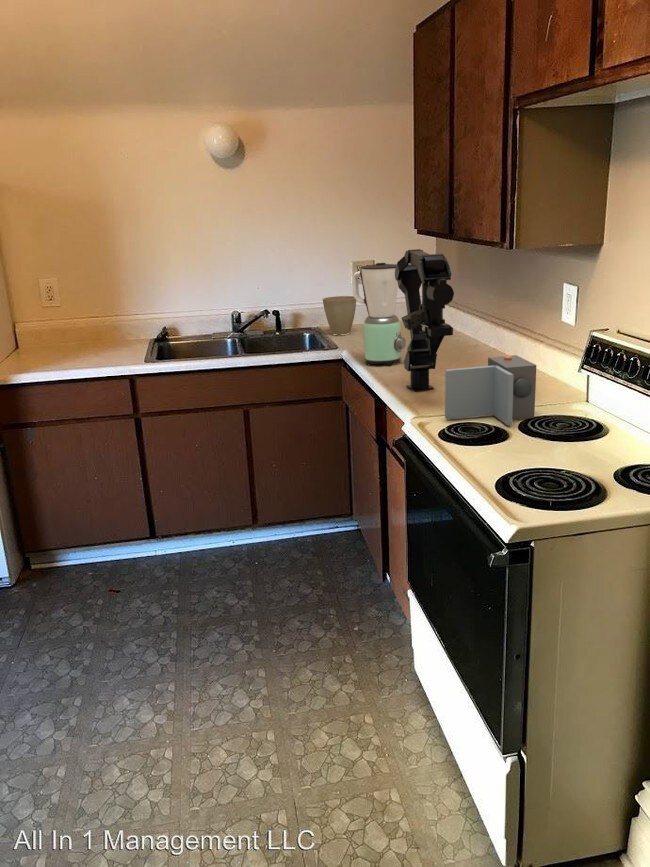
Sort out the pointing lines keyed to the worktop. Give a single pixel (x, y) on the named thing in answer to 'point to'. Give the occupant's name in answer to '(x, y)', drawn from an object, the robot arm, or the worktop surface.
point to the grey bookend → (479, 393)
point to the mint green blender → (380, 313)
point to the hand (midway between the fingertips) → (432, 356)
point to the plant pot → (340, 313)
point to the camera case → (519, 384)
